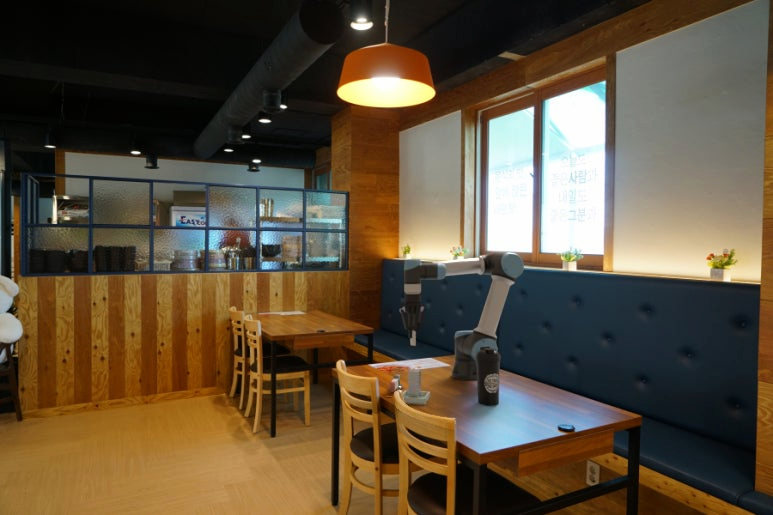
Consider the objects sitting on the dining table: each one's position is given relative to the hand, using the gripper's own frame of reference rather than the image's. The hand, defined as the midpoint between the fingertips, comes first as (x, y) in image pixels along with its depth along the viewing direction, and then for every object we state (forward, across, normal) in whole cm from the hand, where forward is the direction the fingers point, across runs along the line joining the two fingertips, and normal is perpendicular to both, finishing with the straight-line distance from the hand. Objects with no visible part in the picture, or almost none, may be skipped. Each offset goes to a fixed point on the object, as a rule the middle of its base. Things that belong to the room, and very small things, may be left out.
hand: (413, 345), depth 234 cm
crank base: (+20, +6, -5) cm, 22 cm away
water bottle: (+21, -21, +30) cm, 42 cm away
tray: (+20, +6, +15) cm, 26 cm away
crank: (+19, +9, -1) cm, 21 cm away
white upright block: (+20, +6, +15) cm, 26 cm away
